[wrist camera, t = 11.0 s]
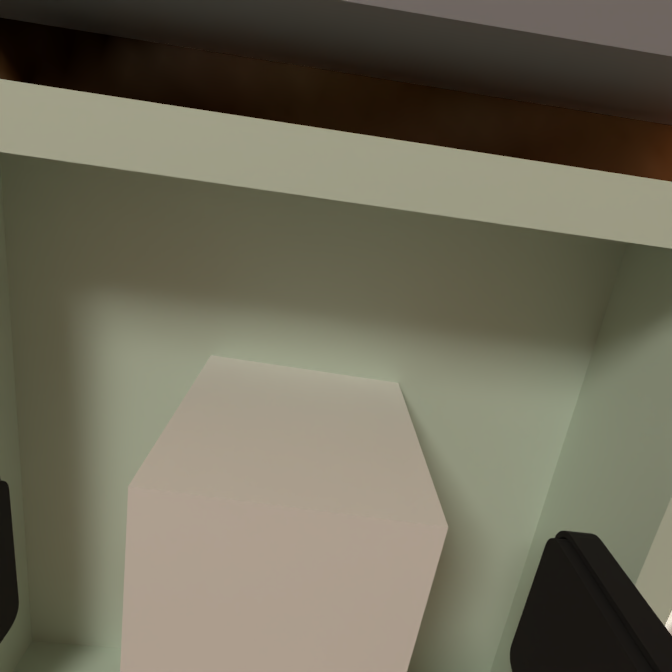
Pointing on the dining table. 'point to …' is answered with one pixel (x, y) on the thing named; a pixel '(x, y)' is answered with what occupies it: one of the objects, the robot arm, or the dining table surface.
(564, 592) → the robot arm
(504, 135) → the dining table surface
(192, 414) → the beige block
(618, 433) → the sage crate
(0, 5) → the charcoal bin
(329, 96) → the dining table surface
